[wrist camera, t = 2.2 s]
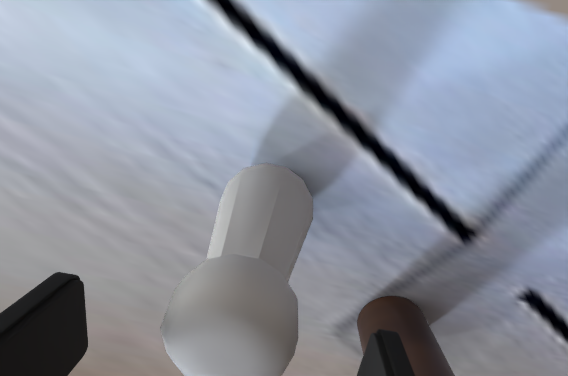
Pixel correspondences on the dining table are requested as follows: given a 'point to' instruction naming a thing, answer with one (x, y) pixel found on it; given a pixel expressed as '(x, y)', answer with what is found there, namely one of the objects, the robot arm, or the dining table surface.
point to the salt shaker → (243, 281)
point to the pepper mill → (405, 333)
